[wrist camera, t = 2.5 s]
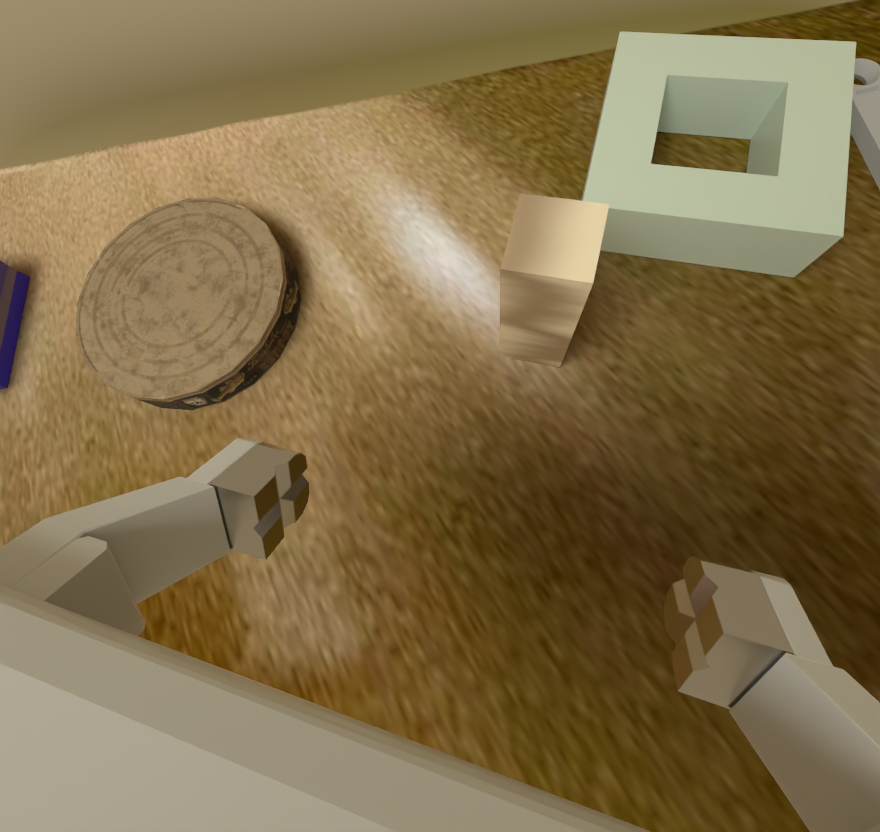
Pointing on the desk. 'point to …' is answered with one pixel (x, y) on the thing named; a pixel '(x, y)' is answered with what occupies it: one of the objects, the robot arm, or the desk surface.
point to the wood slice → (188, 305)
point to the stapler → (10, 316)
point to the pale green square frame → (732, 116)
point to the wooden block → (547, 275)
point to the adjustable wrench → (867, 114)
